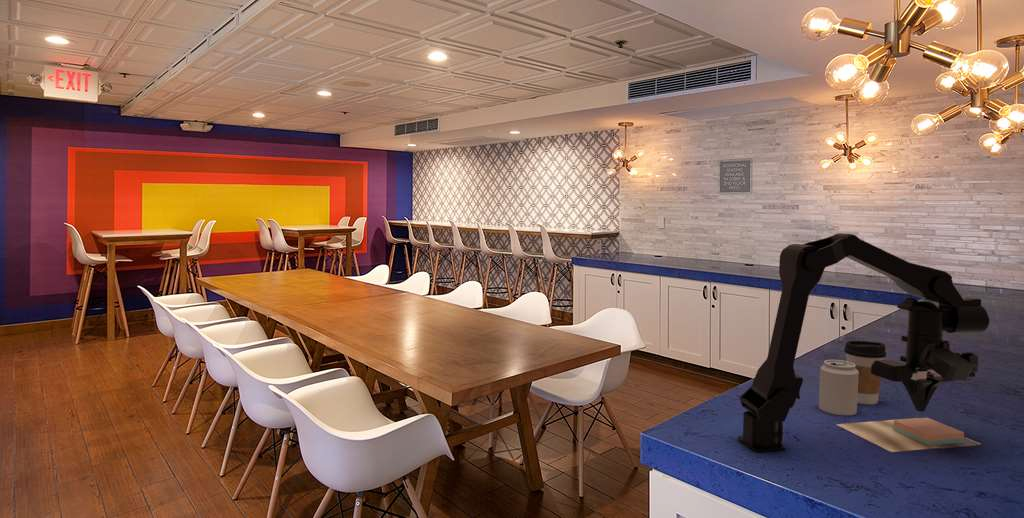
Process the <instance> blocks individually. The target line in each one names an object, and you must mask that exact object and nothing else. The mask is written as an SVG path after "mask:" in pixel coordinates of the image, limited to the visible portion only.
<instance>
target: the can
mask: <svg viewBox="0 0 1024 518" xmlns="http://www.w3.org/2000/svg"><path fill="white" fill-rule="evenodd" d="M855 367H856V365H855V364H854V363H851V362H848V361H846V360H842V359H827V360H826V359H825V360H823V364H822V366H820V368H819V369H820V372H819V373H820V374H819V391H818V392H819V395H818V408H819V409H820V410H821V411H823V412H826V413H827V414H828V413H829V414H833V415H838V416H854V415H856V414H857V412H858V409H857V408H858V403H857V394H858V375H859V372H858V370H857V369H856V368H855Z"/></svg>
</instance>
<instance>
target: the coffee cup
mask: <svg viewBox="0 0 1024 518" xmlns="http://www.w3.org/2000/svg"><path fill="white" fill-rule="evenodd" d="M843 350H844V351H843V352H844V353H845V357H846V358H845V361H848V362H851V363H854V364H855V365H856V367H855V368H856V369H857V370H858V372H859V375H858V394H857V404H861V405H877V404H878V402H879V396H880V389H881V384H882V379H883V378H882V377H879V376H876V375H873V374H871V364H872V363H873V362H874V361H875V360H885V358H886V357H887V352H886V344H885V343H882V342H877V341H868V340H867V341H866V340H865V341H864V340H849V341H846V343H845V347H844V349H843Z"/></svg>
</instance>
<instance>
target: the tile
mask: <svg viewBox="0 0 1024 518" xmlns="http://www.w3.org/2000/svg"><path fill="white" fill-rule="evenodd" d="M915 418H916V419H910V418H902V419H903V420H898V419H893V420H894V424H893V430H895V431H897V432H899V433H901V434H904V435H906V436H908V437H910V438H912V439H915V440H917V441H919V442H921V443H923V444H926V445H928V446H929V445H940V444H951V443H962V442H963V439H964V437H965V434H964V433H965V431H961V430H959V429H956V428H954V427H952V426H948V424H947V425H946V424H944V423H941V422H940V421H937V420H934V419H932V418H929V417H920V418H919V417H915Z"/></svg>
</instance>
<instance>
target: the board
mask: <svg viewBox="0 0 1024 518" xmlns="http://www.w3.org/2000/svg"><path fill="white" fill-rule="evenodd" d="M916 418H917V417H913V418H909V419H916ZM903 419H904V418H899V419H898V418H897V420H903ZM894 420H895V419H887V420H875V421H873V420H872V421H863V422H861V421H860V422H850V423H849V422H847V423H837V424H836V426H838V427H840V428H842V429H845V430H846V431H848V432H850V433H852V434H854V435H856V436H858V437H861V438H862V439H864V440H866V441H868V442H870V443H872V444H875V446H879V447H880V448H882V449H884V450H886V451H888V452H891V453H897V452H898V453H900V452H908V451H909V452H910V451H919V450H930V449H942V450H943V449H944V450H945V449H952V448H962V447H963V448H964V447H973V446H974V447H976V446H982V443H981V442H977V441H976V440H972V439H970V438H969V437H965V436H964V439H963V442H962V443H951V444H940V445H929V446H928V445H926V444H923V443H921V442H919V441H917V440H915V439H912V438H910V437H908V436H906V435H904V434H901V433H899V432H897V431H895V430H893V424H894Z"/></svg>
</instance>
